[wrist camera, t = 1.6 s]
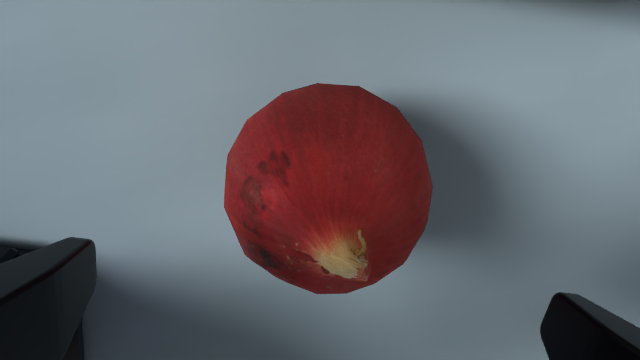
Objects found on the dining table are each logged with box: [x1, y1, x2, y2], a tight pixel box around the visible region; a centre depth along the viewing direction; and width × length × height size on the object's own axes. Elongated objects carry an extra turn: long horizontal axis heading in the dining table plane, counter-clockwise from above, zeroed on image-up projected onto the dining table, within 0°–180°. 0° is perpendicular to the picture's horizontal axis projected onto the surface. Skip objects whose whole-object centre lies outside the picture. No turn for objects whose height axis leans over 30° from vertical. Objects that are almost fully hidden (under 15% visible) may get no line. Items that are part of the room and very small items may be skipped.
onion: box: [224, 83, 432, 294], centre depth 13 cm, size 6×6×8 cm
